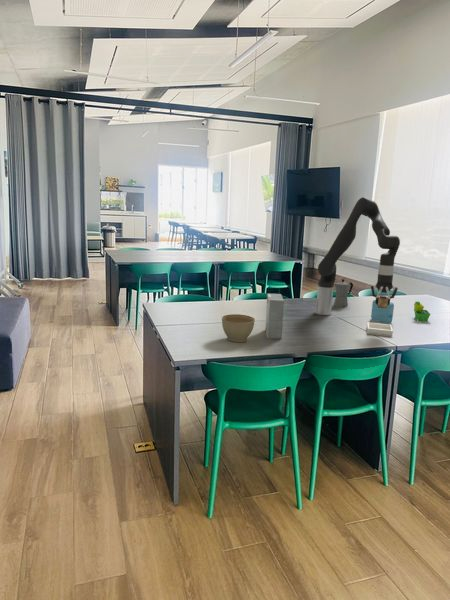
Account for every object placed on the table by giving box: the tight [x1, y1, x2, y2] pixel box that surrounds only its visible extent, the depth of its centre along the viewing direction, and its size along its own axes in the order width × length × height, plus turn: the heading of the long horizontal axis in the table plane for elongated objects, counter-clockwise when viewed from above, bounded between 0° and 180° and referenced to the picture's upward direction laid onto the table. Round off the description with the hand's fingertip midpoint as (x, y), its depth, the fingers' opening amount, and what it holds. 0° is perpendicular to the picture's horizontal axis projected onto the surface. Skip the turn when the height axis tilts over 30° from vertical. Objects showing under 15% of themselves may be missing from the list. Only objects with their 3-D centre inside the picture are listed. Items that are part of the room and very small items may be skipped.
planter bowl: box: [221, 313, 256, 343], centre depth 224 cm, size 16×16×11 cm
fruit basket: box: [413, 300, 431, 323], centre depth 277 cm, size 11×9×11 cm
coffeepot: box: [333, 278, 354, 308], centre depth 308 cm, size 15×9×18 cm, turn 115°
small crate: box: [378, 295, 388, 308], centre depth 244 cm, size 5×8×5 cm, turn 164°
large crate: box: [366, 321, 394, 337], centre depth 247 cm, size 13×14×3 cm
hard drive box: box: [265, 293, 285, 340], centre depth 234 cm, size 16×8×20 cm, turn 178°
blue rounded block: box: [370, 299, 395, 324], centre depth 270 cm, size 12×4×12 cm, turn 32°
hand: (382, 305), depth 245 cm, fingers closed on small crate, 4 cm apart
